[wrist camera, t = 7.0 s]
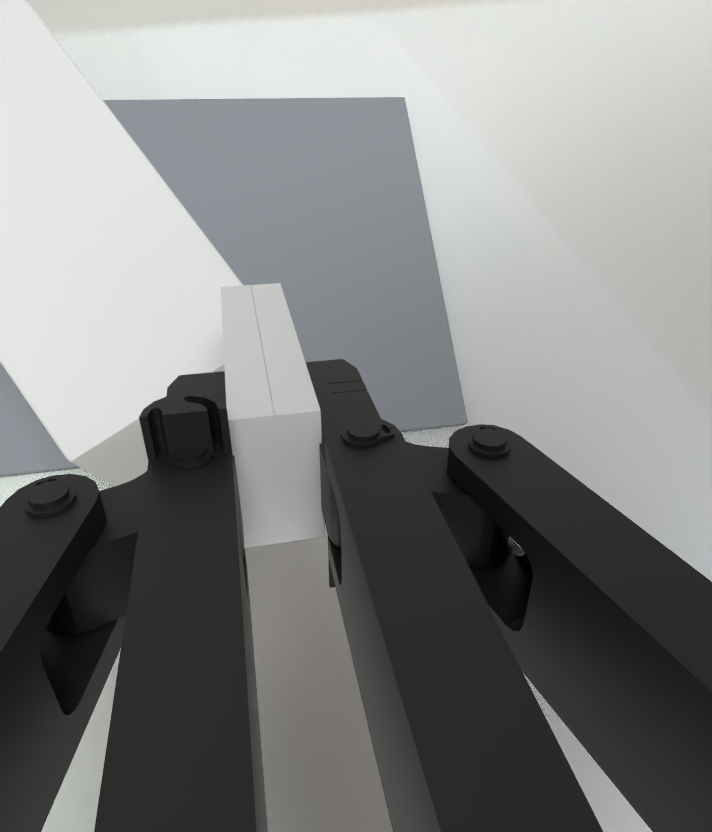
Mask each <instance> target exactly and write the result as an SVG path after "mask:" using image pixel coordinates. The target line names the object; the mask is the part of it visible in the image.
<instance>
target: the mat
mask: <svg viewBox="0 0 712 832" xmlns="http://www.w3.org/2000/svg"><path fill="white" fill-rule="evenodd" d="M103 101H104V102H105V104H106V105H107V106H108V108H109V109H110V110H111V112H112V113H113V114H114V115H115V117H116V118H117V119H118V121H119V122H120V123H121V125H122V126H123V127H124V129H125V130H126V131H127V133H128V134H129V135H130V137H131V138H132V139H133V141H134V142H135V143H136V145H137V146H138V147H139V148H140V150H141V151H142V152H143V154H144V155H145V156H146V158H147V159H148V160H149V162H150V163H151V164H152V166H153V167H154V168H155V170H156V171H157V172H158V174H159V175H160V176H161V177H162V179H163V180H164V181H165V183H166V184H167V185H168V187H169V188H170V189H171V191H172V192H173V193H174V195H175V196H176V197H177V199H178V200H179V201H180V203H181V204H182V205H183V206H184V208H185V209H186V210H187V212H188V213H189V214H190V216H191V217H192V218H193V220H194V221H195V222H196V224H197V225H198V226H199V228H200V229H201V230H202V232H203V233H204V234H205V235H206V237H207V238H208V239H209V241H210V242H211V243H212V245H213V246H214V247H215V249H216V250H217V251H218V253H219V254H220V255H221V257H222V258H223V259H224V261H225V262H226V263H227V264H228V266H229V267H230V268H231V270H232V271H233V272H234V274H235V275H236V276H237V278H238V279H239V280H240V282H241V283H242V284H243V285H258V284H273V283H281V287H282V290H283V293H284V296H285V299H286V302H287V306H288V309H289V312H290V315H291V318H292V321H293V325H294V328H295V331H296V334H297V337H298V340H299V344H300V347H301V350H302V353H303V356H304V359H305V362H313V361H324V360H336V359H344V360H345V361H347V362H348V363H350V364H351V365H353V366H354V367H356V368H357V369H358V371H359V373H360V376H361V378H362V380H363V382H364V384H365V386H366V388H367V392H369V394H370V397H371V399H372V401H373V403H374V405H375V407H376V409H377V411H378V413H379V415H380V418H381V419H382V420H385V421H387V422H389V423H391V424H393V425H395V426H396V428H397V429H398V430H399V431H400V432H403V431H412V430H420V429H429V428H438V427H447V426H456V425H465V424H466V423H467V417H466V412H465V407H464V402H463V397H462V392H461V386H460V381H459V376H458V371H457V366H456V361H455V356H454V350H453V345H452V340H451V335H450V330H449V325H448V320H447V314H446V309H445V304H444V299H443V294H442V289H441V283H440V278H439V273H438V268H437V263H436V258H435V253H434V247H433V242H432V237H431V232H430V227H429V222H428V217H427V211H426V206H425V201H424V196H423V191H422V186H421V181H420V175H419V170H418V165H417V160H416V155H415V150H414V145H413V139H412V134H411V129H410V124H409V119H408V114H407V108H406V103H405V98H404V97H384V98H283V99H182V100H103ZM75 468H80V467H78V466H77V465H75V464H73V463H72V462H70V461H68V459H67V458H66V457H65V456H64V455H63V453H62V452H61V450H60V449H59V447H58V446H57V444H56V443H55V441H54V440H53V439H52V437H51V436H50V434H49V433H48V431H47V430H46V428H45V427H44V425H43V424H42V422H41V421H40V420H39V418H38V417H37V415H36V414H35V412H34V411H33V409H32V408H31V406H30V405H29V403H28V402H27V401H26V399H25V398H24V396H23V395H22V393H21V392H20V390H19V389H18V387H17V386H16V384H15V383H14V381H13V380H12V379H11V377H10V376H9V374H8V373H7V371H6V370H5V368H4V367H3V365H2V364H1V362H0V477H4V476H13V475H22V474H31V473H40V472H49V471H58V470H66V469H75Z"/></svg>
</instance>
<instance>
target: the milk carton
mask: <svg viewBox="0 0 712 832" xmlns="http://www.w3.org/2000/svg"><path fill="white" fill-rule="evenodd" d="M242 285H243V284H242V283H241V282H240V280H239V279H238V278H237V276H236V275H235V274H234V272H233V271H232V270H231V268H230V267H229V266H228V264H227V263H226V262H225V261H224V259H223V258H222V257H221V255H220V254H219V253H218V251H217V250H216V249H215V247H214V246H213V245H212V243H211V242H210V241H209V239H208V238H207V237H206V235H205V234H204V233H203V232H202V230H201V229H200V228H199V226H198V225H197V224H196V222H195V221H194V220H193V218H192V217H191V216H190V214H189V213H188V212H187V210H186V209H185V208H184V206H183V205H182V204H181V203H180V201H179V200H178V199H177V197H176V196H175V195H174V193H173V192H172V191H171V189H170V188H169V187H168V185H167V184H166V183H165V181H164V180H163V179H162V177H161V176H160V175H159V174H158V172H157V171H156V170H155V168H154V167H153V166H152V164H151V163H150V162H149V160H148V159H147V158H146V156H145V155H144V154H143V152H142V151H141V150H140V148H139V147H138V146H137V145H136V143H135V142H134V141H133V139H132V138H131V137H130V135H129V134H128V133H127V131H126V130H125V129H124V127H123V126H122V125H121V123H120V122H119V121H118V119H117V118H116V117H115V115H114V114H113V113H112V112H111V110H110V109H109V108H108V106H107V105H106V104H105V102H104V101H103V100H102V98H101V97H100V96H99V94H98V93H97V92H96V90H95V89H94V88H93V86H92V85H91V84H90V83H89V81H88V80H87V79H86V77H85V76H84V75H83V73H82V72H81V71H80V69H79V68H78V67H77V65H76V64H75V63H74V61H73V60H72V59H71V57H70V56H69V55H68V54H67V52H66V51H65V50H64V48H63V47H62V46H61V44H60V43H59V42H58V40H57V39H56V38H55V36H54V35H53V34H52V32H51V31H50V30H49V29H48V27H47V26H46V25H45V23H44V22H43V21H42V19H41V18H40V17H39V16H38V14H37V13H36V11H35V10H34V9H33V8H32V7H31V5H30V4H29V2H28V1H27V0H1V1H0V362H1V364H2V365H3V367H4V368H5V370H6V371H7V373H8V374H9V376H10V377H11V379H12V380H13V381H14V383H15V384H16V386H17V387H18V389H19V390H20V392H21V393H22V395H23V396H24V398H25V399H26V401H27V402H28V403H29V405H30V406H31V408H32V409H33V411H34V412H35V414H36V415H37V417H38V418H39V420H40V421H41V422H42V424H43V425H44V427H45V428H46V430H47V431H48V433H49V434H50V436H51V437H52V439H53V440H54V441H55V443H56V444H57V446H58V447H59V449H60V450H61V452H62V453H63V455H64V456H65V457H66V458H67V459H68V461H70V462H72V463H73V464H75V465H77V466H78V467H80V468H82V469H84V470H85V471H87V472H89V473H91V474H92V475H94V476H96V477H98V478H99V479H101V480H103V481H105V482H106V483H108V484H110V485H112V486H113V487H115V486H118V485H121V484H123V483H126V482H129V481H131V480H133V479H135V478H137V477H139V476H140V475H142V474H144V473H145V472H146V471H147V467H148V458H147V453H146V449H145V444H144V439H143V435H142V430H141V425H140V421H139V416H140V414H141V413H142V411H143V409H144V408H146V407H147V406H148V405H150V404H151V403H153V402H154V401H156V400H159V399H161V398H164V397H166V395H167V388H168V386H169V385H170V384H171V383H172V382H173V381H174V380H175V379H176V378H177V377H178V376H179V375H187V374H199V373H210V372H221V371H225V368H224V347H223V327H222V306H221V287H227V286H242Z"/></svg>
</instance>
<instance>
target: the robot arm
mask: <svg viewBox="0 0 712 832" xmlns="http://www.w3.org/2000/svg"><path fill="white" fill-rule="evenodd" d="M221 306H222V327H223V347H224V368H225V371H221V372H210V373H199V374H187V375H179V376H178V377H177V378H176V379H175V380H174V381H173V382H172V383H171V384H170V385H169V386H168V388H167V395H166V397H164V398H161V399H159V400H156V401H154V402H153V403H151V404H150V405H148V406H147V407H146V408H144V409H143V411H142V413H141V414H140V416H139V421H140V425H141V430H142V435H143V439H144V444H145V449H146V453H147V458H148V467H147V471H146V472H145V473H144V474H142V475H140V476H139V477H137V478H135V479H133V480H131V481H129V482H126V483H123V484H121V485H118V486H115V487H112V488H108V489H105V490H102V491H99V489H98V487H97V485H96V482H94V481H93V480H91V479H89V478H88V477H86V476H81V475H74V474H65V475H54V476H50V477H46V478H42V479H39V480H36V481H34V482H32V483H30V484H28V485H26V486H24V487H22V488H20V489H19V490H17V491H16V492H15V493H14V494H13V495H12V496H10V497H9V498H8V499H7V500H6V501H5V502H4V503H3V505H2V506H1V507H0V832H41V830H42V828H43V826H44V823H45V821H46V819H47V816H48V814H49V812H50V810H51V807H52V805H53V803H54V800H55V798H56V796H57V793H58V791H59V789H60V786H61V784H62V782H63V780H64V777H65V775H66V773H67V770H68V768H69V766H70V763H71V761H72V759H73V757H74V754H75V752H76V750H77V747H78V745H79V743H80V740H81V738H82V736H83V733H84V731H85V729H86V727H87V724H88V722H89V720H90V717H91V715H92V713H93V710H94V708H95V706H96V704H97V701H98V699H99V697H100V694H101V692H102V690H103V687H104V685H105V683H106V680H107V678H108V676H109V674H110V671H111V669H112V667H113V664H114V662H115V660H116V657H117V655H118V653H119V651H120V648H121V652H120V659H119V666H118V673H117V680H116V687H115V694H114V700H113V707H112V714H111V721H110V728H109V735H108V742H107V748H106V755H105V762H104V769H103V776H102V783H101V789H100V796H99V803H98V810H97V817H96V824H95V831H94V832H268V829H267V816H266V804H265V791H264V778H263V765H262V752H261V740H260V727H259V714H258V701H257V688H256V676H255V663H254V650H253V637H252V624H251V612H250V599H249V586H248V573H247V564H246V556H245V548H251V547H258V546H265V545H272V544H279V543H286V542H293V541H300V540H307V539H314V538H321V537H325V525H326V529H327V533H328V556H329V587H335V586H336V591H337V595H338V599H339V603H340V608H341V612H342V616H343V620H344V625H345V629H346V633H347V637H348V642H349V646H350V650H351V654H352V659H353V663H354V667H355V671H356V676H357V680H358V684H359V688H360V693H361V697H362V701H363V705H364V710H365V714H366V718H367V722H368V727H369V731H370V735H371V740H372V744H373V748H374V752H375V757H376V761H377V765H378V769H379V774H380V778H381V782H382V786H383V791H384V795H385V799H386V803H387V808H388V812H389V816H390V820H391V825H392V829H393V832H603V830H602V828H601V826H600V825H599V823H598V821H597V819H596V817H595V815H594V813H593V811H592V809H591V807H590V805H589V803H588V801H587V799H586V797H585V795H584V793H583V791H582V789H581V787H580V785H579V783H578V781H577V779H576V777H575V775H574V773H573V771H572V769H571V767H570V765H569V763H568V761H567V759H566V757H565V755H564V753H563V751H562V749H561V747H560V746H559V744H558V742H557V740H556V738H555V736H554V734H553V732H552V730H551V728H550V726H549V724H548V722H547V720H546V718H545V716H544V714H543V712H542V710H541V708H540V706H539V704H538V702H537V700H536V698H535V696H534V694H533V692H532V690H531V688H530V686H529V684H528V682H527V680H526V678H525V676H524V674H525V675H526V676H527V678H528V679H529V680H530V681H531V683H532V684H533V685H534V686H535V687H536V689H537V690H538V691H539V692H540V694H541V695H542V696H543V697H544V699H545V700H546V701H547V702H548V703H549V705H550V706H551V707H552V708H553V710H554V711H555V712H556V713H557V715H558V716H559V717H560V718H561V719H562V721H563V722H564V723H565V724H566V726H567V727H568V728H569V729H570V731H571V732H572V733H573V734H574V735H575V737H576V738H577V739H578V740H579V742H580V743H581V744H582V745H583V747H584V748H585V749H586V750H587V751H588V753H589V754H590V755H591V756H592V758H593V759H594V760H595V761H596V763H597V764H598V765H599V766H600V767H601V769H602V770H603V771H604V772H605V774H606V775H607V776H608V777H609V779H610V780H611V781H612V782H613V783H614V785H615V786H616V787H617V788H618V790H619V791H620V792H621V793H622V795H623V796H624V797H625V798H626V799H627V801H628V802H629V803H630V804H631V806H632V807H633V808H634V809H635V811H636V812H637V813H638V814H639V815H640V817H641V818H642V819H643V820H644V822H645V823H646V824H647V825H648V827H649V828H650V829H651V830H652V831H653V832H712V582H711V581H710V580H709V579H707V578H706V577H705V576H703V575H702V574H701V573H699V572H698V571H697V570H695V569H694V568H693V567H692V566H690V565H689V564H688V563H686V562H685V561H684V560H682V559H681V558H680V557H678V556H677V555H676V554H675V553H673V552H672V551H671V550H669V549H668V548H667V547H665V546H664V545H663V544H661V543H660V542H659V541H657V540H656V539H655V538H654V537H652V536H651V535H650V534H648V533H647V532H646V531H644V530H643V529H642V528H640V527H639V526H638V525H636V524H635V523H634V522H633V521H631V520H630V519H629V518H627V517H626V516H625V515H623V514H622V513H621V512H619V511H618V510H617V509H615V508H614V507H613V506H612V505H610V504H609V503H608V502H606V501H605V500H604V499H602V498H601V497H600V496H598V495H597V494H596V493H594V492H593V491H592V490H591V489H589V488H588V487H587V486H585V485H584V484H583V483H581V482H580V481H579V480H577V479H576V478H575V477H573V476H572V475H571V474H570V473H568V472H567V471H566V470H564V469H563V468H562V467H560V466H559V465H558V464H556V463H555V462H554V461H552V460H551V459H550V458H549V457H547V456H546V455H545V454H543V453H542V452H541V451H539V450H538V449H537V448H535V447H534V446H533V445H532V444H530V443H529V442H528V441H526V440H525V439H524V438H522V437H521V436H519V435H517V434H516V433H514V432H512V431H510V430H508V429H504V428H501V427H497V426H494V425H474V426H467V427H464V428H462V429H459V430H457V431H455V432H454V434H453V435H452V436H451V437H450V439H449V448H441V447H429V446H421V445H415V444H411V443H408V442H406V441H405V439H404V437H403V435H402V434H401V432H400V431H399V430H398V429H397V428H396V426H395V425H393V424H391V423H389V422H387V421H385V420H382V419H381V418H380V415H379V413H378V411H377V409H376V407H375V405H374V403H373V401H372V399H371V397H370V394H369V392H367V388H366V386H365V384H364V382H363V380H362V378H361V376H360V373H359V371H358V369H357V368H356V367H354V366H353V365H351V364H350V363H348V362H347V361H345V360H344V359H336V360H324V361H313V362H305V359H304V356H303V353H302V350H301V347H300V344H299V340H298V337H297V334H296V331H295V328H294V325H293V321H292V318H291V315H290V312H289V309H288V306H287V302H286V299H285V296H284V293H283V290H282V287H281V283H273V284H258V285H242V286H227V287H221ZM324 521H325V525H324ZM514 541H515V542H516V543H517V544H518V545H519V546H520V547H521V548H522V549H521V548H520V547H519V546H518V545H517V544H516V543H515V542H514ZM522 671H523V672H522ZM523 673H524V674H523Z"/></svg>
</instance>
